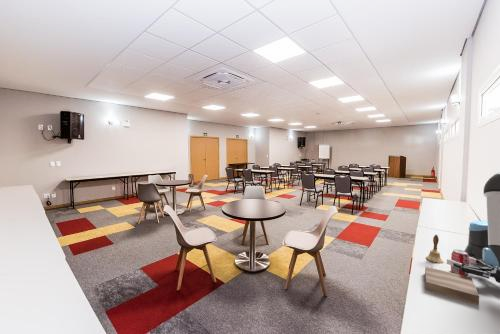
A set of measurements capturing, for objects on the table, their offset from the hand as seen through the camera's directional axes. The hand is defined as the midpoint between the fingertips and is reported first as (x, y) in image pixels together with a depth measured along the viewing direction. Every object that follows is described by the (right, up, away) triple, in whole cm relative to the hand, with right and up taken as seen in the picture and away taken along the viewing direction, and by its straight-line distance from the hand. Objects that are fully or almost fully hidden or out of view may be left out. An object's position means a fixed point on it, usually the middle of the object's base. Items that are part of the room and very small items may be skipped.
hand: (453, 258), depth 124 cm
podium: (-16, -8, -15) cm, 23 cm away
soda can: (+1, -7, -2) cm, 8 cm away
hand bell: (0, -6, +13) cm, 14 cm away
